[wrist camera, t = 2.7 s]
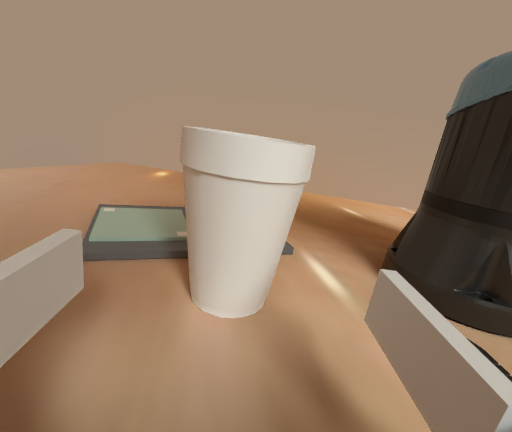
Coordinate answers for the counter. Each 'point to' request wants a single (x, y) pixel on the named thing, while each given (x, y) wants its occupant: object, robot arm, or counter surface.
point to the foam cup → (238, 214)
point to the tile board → (139, 233)
